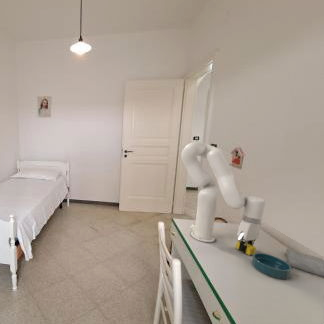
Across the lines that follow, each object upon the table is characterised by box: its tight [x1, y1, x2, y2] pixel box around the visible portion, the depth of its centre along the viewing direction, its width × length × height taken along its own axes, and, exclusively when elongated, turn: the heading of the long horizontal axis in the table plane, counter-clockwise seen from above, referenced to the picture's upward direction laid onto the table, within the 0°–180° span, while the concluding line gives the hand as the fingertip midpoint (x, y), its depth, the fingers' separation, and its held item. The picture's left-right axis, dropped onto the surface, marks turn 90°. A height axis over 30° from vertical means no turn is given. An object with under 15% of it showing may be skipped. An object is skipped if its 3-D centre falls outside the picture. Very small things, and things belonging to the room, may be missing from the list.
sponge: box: [235, 240, 257, 256], centre depth 112 cm, size 7×4×4 cm, turn 17°
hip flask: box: [285, 248, 324, 278], centre depth 99 cm, size 16×4×20 cm
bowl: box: [251, 252, 293, 280], centre depth 97 cm, size 13×13×4 cm
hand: (245, 250), depth 112 cm, fingers closed on sponge, 4 cm apart
